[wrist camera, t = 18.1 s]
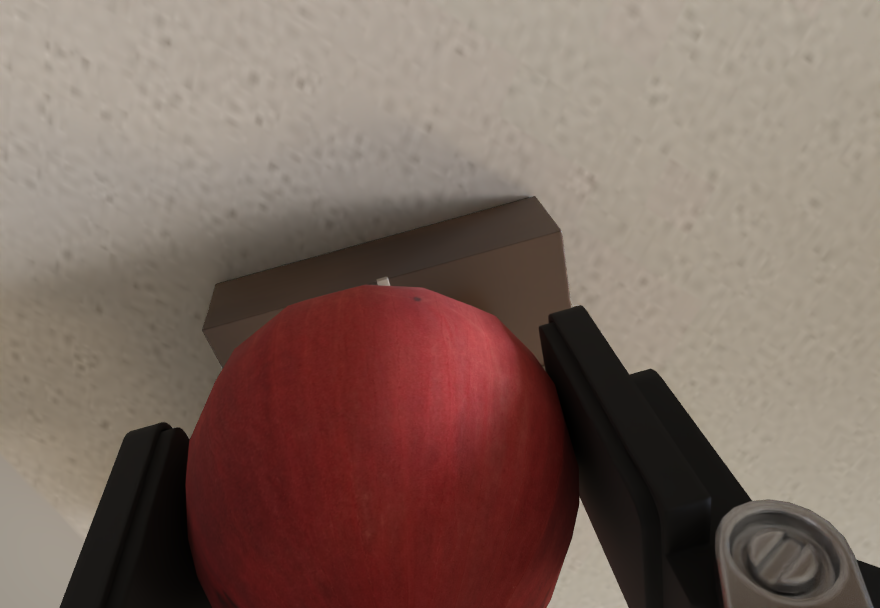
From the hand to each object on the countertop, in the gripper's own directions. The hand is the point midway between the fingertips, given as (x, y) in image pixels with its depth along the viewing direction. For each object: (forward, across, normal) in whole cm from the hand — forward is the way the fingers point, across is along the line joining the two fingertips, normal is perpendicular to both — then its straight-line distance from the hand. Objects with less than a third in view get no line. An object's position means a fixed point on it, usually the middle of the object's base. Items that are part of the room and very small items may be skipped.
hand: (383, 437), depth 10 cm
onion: (+3, 0, 0) cm, 3 cm away
